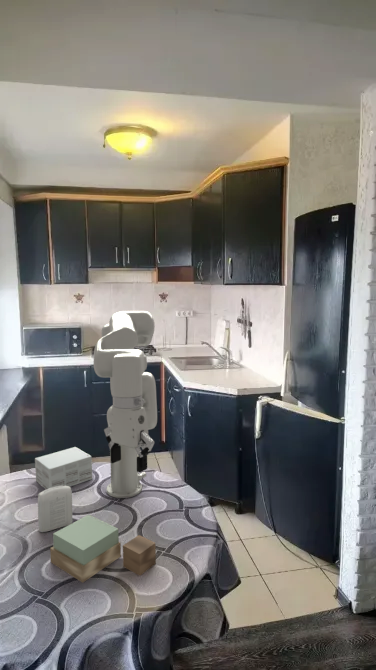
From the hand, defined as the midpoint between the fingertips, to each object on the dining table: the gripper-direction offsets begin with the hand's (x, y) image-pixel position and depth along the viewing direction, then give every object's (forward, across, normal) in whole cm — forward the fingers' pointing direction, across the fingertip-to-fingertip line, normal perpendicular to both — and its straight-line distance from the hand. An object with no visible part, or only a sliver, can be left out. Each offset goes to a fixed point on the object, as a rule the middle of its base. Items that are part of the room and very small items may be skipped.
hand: (128, 465), depth 113 cm
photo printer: (+26, +30, +2) cm, 40 cm away
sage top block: (+22, +10, +7) cm, 25 cm away
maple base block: (+27, +10, +7) cm, 29 cm away
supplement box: (+25, +54, -18) cm, 63 cm away
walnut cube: (+26, -3, 0) cm, 27 cm away
